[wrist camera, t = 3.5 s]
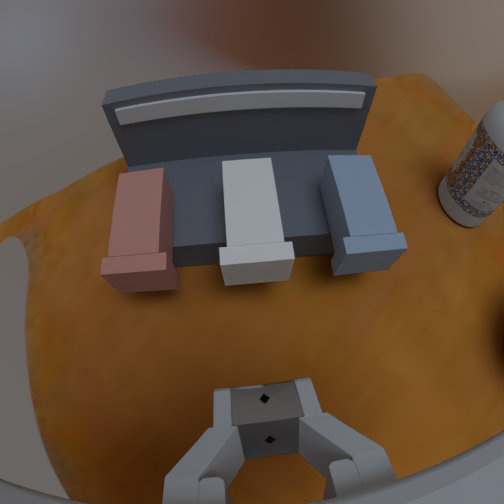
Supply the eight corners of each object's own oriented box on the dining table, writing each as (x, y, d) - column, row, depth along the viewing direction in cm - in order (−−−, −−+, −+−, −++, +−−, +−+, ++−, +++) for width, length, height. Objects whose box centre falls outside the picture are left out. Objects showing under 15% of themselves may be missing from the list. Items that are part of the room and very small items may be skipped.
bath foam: (448, 170, 34) (522, 45, 16) (488, 206, 32) (577, 94, 14) (427, 200, 32) (516, 58, 14) (471, 240, 30) (581, 119, 12)
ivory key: (288, 280, 24) (295, 258, 20) (225, 286, 23) (220, 264, 20) (274, 188, 27) (277, 157, 23) (219, 193, 27) (215, 161, 23)
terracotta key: (179, 289, 23) (165, 269, 20) (121, 293, 23) (99, 274, 19) (179, 196, 27) (170, 166, 23) (129, 202, 27) (113, 174, 23)
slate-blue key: (387, 269, 24) (408, 247, 20) (333, 276, 24) (347, 253, 20) (362, 184, 27) (375, 155, 24) (313, 186, 27) (321, 155, 24)
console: (368, 250, 29) (421, 170, 18) (133, 270, 29) (74, 196, 18) (342, 160, 34) (368, 73, 23) (141, 176, 33) (106, 90, 22)
